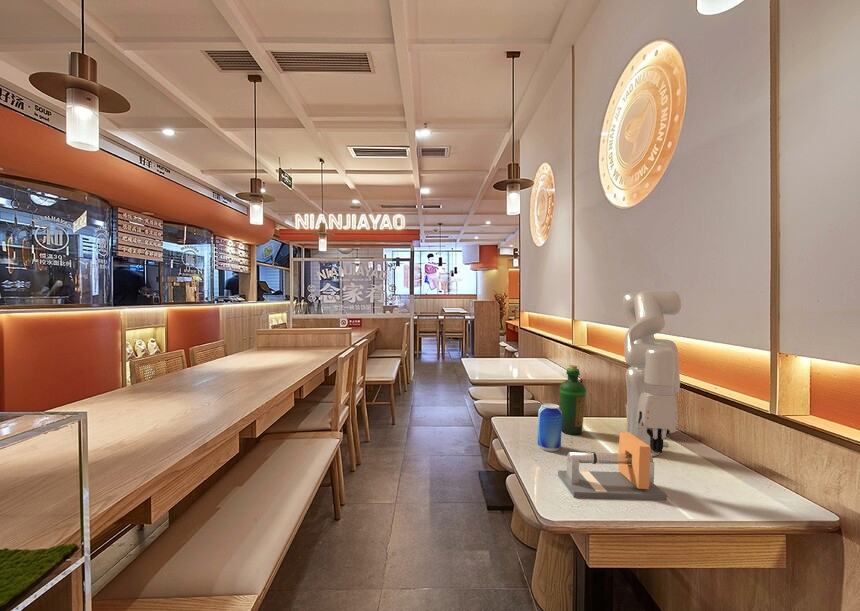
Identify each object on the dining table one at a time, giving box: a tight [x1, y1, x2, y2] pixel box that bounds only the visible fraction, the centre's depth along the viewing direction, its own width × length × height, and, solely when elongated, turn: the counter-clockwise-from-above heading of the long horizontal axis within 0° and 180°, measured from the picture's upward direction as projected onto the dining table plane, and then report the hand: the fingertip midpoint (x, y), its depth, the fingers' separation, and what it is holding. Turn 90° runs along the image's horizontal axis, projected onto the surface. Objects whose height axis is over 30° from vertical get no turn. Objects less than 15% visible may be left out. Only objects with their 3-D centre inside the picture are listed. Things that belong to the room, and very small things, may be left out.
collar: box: [617, 431, 650, 489], centre depth 118 cm, size 3×12×12 cm, turn 0°
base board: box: [557, 469, 668, 500], centre depth 118 cm, size 26×14×2 cm, turn 90°
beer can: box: [537, 402, 562, 452], centre depth 148 cm, size 8×8×16 cm
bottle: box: [559, 364, 587, 436], centre depth 167 cm, size 11×11×28 cm
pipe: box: [566, 451, 655, 486], centre depth 118 cm, size 24×4×9 cm, turn 90°
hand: (656, 450), depth 118 cm, fingers closed
